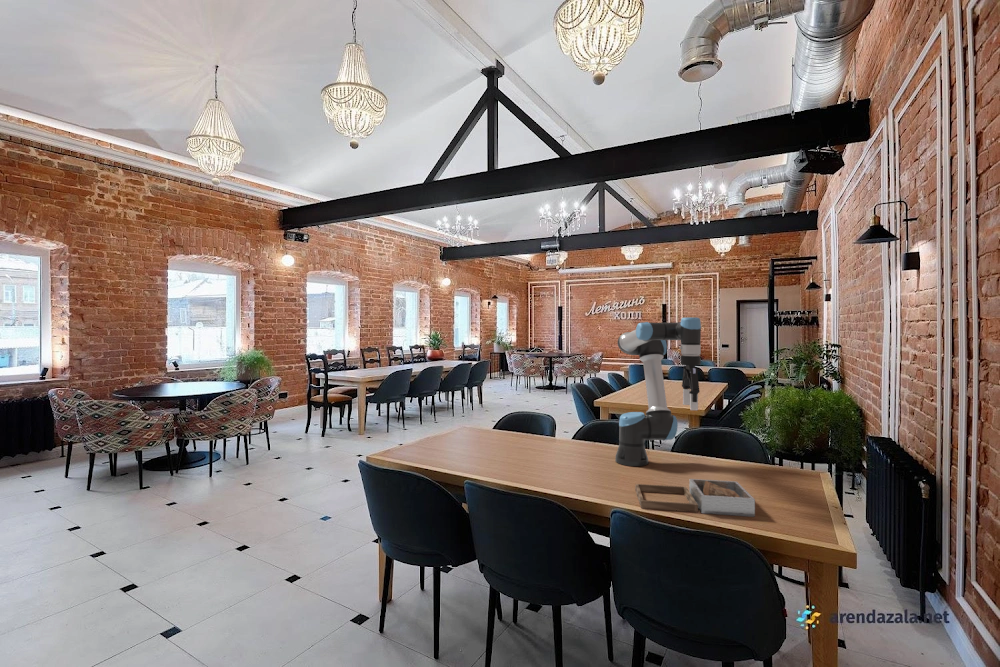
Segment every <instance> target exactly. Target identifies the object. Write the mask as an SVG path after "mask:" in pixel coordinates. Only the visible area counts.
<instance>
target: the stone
mask: <svg viewBox="0 0 1000 667" xmlns="http://www.w3.org/2000/svg"><path fill="white" fill-rule="evenodd" d="M703 493H704V495H710V496H726V497H740V496H739V495H738V494H737V493H736V492H735V491H732V490H731V489H725V488H722V487H720V486H718V485H715V484H712V483H710V482H708V481H705V484H704V486H703Z"/></svg>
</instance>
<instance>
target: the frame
mask: <svg viewBox="0 0 1000 667" xmlns="http://www.w3.org/2000/svg"><path fill="white" fill-rule="evenodd" d="M642 492H644V493H647V492H648V493H665V494H676V493H680V494H679V495H681V494H682V495H684V497H685V496H686V497H685V498H686V500H687V501H689V502H676V501H675V502H674V501H661V500H648V499H647V500H646V499H644V497H643V495H642V494H643V493H642ZM635 493H636V497H637V500H638V502H639V506H640V508H641V509H647V510H649V509H650V510H664V511H665V510H666V511H676V510H677V511H678V512H693V513H698V512H699V509H698V504H697V503H696V501H695V500H694V498H693V497H692V495H691V494H690V492H689V489H688V487H687V486H680V485H678V486H677V485H665V484H664V485H662V484H661V485H660V484H644V483H643V484H642V483H635ZM677 511H676V512H677Z"/></svg>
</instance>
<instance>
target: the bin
mask: <svg viewBox="0 0 1000 667" xmlns="http://www.w3.org/2000/svg"><path fill="white" fill-rule="evenodd" d="M688 480H689V483H688V484H689V487H688V488H689V489H688V490H689V492H690V494H691V495H692V497H693V498H694V500H695V501H696V503H697V504H698V511H699V512H700V513H701V514H707V515H720V516H734V517H749V518H755V517H756V499H755V497H753V496H752V495H751V494H750V493H749V492H748V490H746V489H745V488H744V487H743V486H742V485H741V484H740V482H738V481H736V480H735V481H734V480H720V479H717V480H716V479H702V478H700V479H698V478H689V479H688ZM705 481H708V482H710V483H712V484H715V485H718V486H720V487H722V488H725V489H731V490H732V491H735V492H736V493H737V494H738V495H739V496H740V497H726V496H710V495H704V493H703V486H704V484H705Z"/></svg>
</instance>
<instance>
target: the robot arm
mask: <svg viewBox="0 0 1000 667" xmlns="http://www.w3.org/2000/svg"><path fill="white" fill-rule="evenodd" d="M701 322H702V321H701V318H700V317H689V316H688V317H682V318H681V320H680V322H648V321H644V322H639V323H637V326H636V327H635V329H634V330H632V331H631V332H630V331H627V332H623V333H622V334H621V335H619V337H618V338H617V347H618V348H619V350H620V351H621V352H622V353H623V354H626V355H629V356H630V355H631V356H639V360H640V361H641V362H642V364H643V371H644V379H645V389H646V397H647V398H646V399H647V407H648V409H647V410H646V411H645V413H644V412H643V411H630V412H625V413H622V414H621V415H620V416H619V421H618V427H619V430H618V431H619V434H618V435H619V436H618V437H619V438H618V440H619V442H618V448H617V451H616V453H615V456H614V457H615V463H617V464H620V465H623V466H627V467H644V466H647V465H649V456H648V454H647V451H646V447H645V443H646V442H645V441H663V442H664V441H671V440H673V439H674V438H675V437H676V435H677V432H678V419H677V416H675V415H673V414H672V411H671V409H669V407H668V404H667V398H666V397H667V396H666V390H665V388H666V387H665V382H664V381H665V380H664V374H663V373H664V372H663V366H662V360H663V359H664V355H666V354H667V352H668V351H667V350H668V349H667V347H668V345H667V341H680V346H679V348H678V349H679V350H680V354H681V356H680V365H682V366H683V372H682V373H683V374H682V380H681V381H682V384H681V387H682V405H685V406H689V407H690V408H689V409H690V411H698V410H699V394H700V392H701V390H700V384H699V374H698V370H699V369H698V368H697V367H696V366H700V365H701V356H700V355H701V354H702V353H701V351H702V345H701V340H702V339H701V337H702V336H701V335H702V324H701ZM645 414H646V415H645Z"/></svg>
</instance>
